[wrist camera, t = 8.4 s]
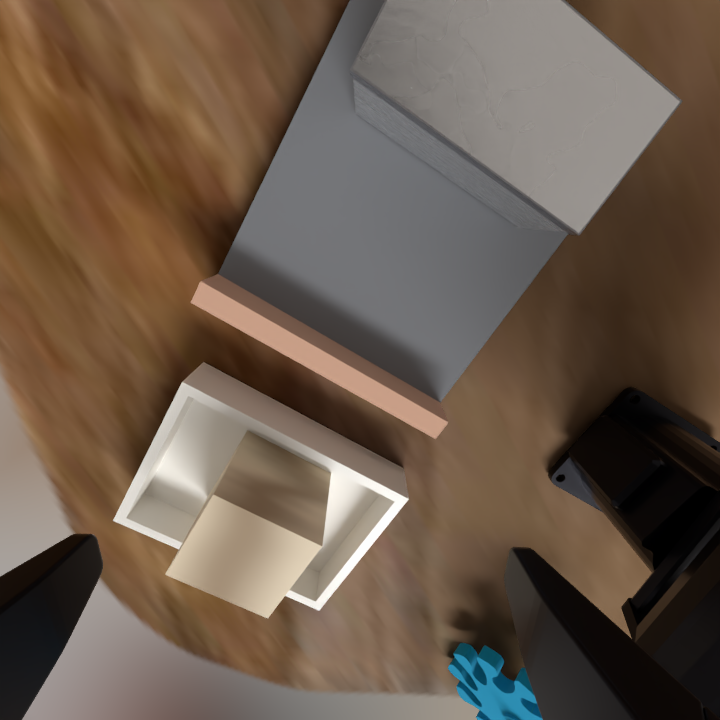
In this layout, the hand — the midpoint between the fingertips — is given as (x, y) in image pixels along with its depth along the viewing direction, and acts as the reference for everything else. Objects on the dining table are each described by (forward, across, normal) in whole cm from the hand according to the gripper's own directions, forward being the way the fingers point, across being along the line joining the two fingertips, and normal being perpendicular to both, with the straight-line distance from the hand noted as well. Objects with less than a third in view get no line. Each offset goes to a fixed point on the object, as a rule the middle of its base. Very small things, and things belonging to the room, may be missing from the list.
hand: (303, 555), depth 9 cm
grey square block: (+12, -5, -10) cm, 17 cm away
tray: (+12, +4, +7) cm, 14 cm away
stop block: (+11, +4, +7) cm, 14 cm away
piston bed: (+12, -3, -7) cm, 14 cm away
